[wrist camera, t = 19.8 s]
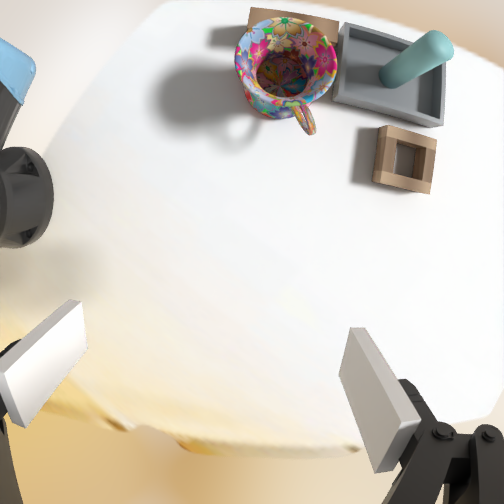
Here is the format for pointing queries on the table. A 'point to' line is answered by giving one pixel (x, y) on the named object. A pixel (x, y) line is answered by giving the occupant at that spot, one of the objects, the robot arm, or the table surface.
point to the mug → (285, 68)
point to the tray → (370, 87)
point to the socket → (422, 162)
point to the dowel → (417, 59)
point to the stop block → (322, 24)
